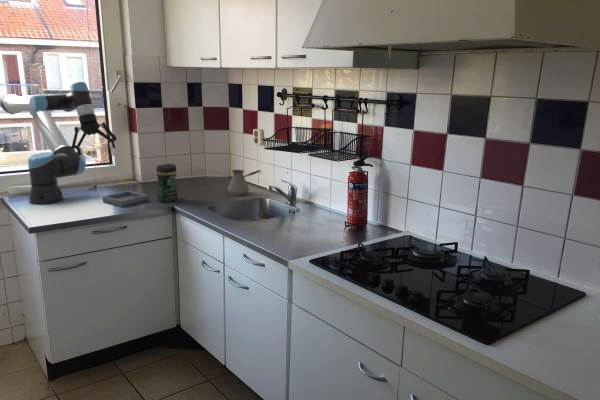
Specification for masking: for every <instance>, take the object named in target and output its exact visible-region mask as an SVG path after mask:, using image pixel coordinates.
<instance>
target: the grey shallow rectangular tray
mask: <svg viewBox="0 0 600 400" xmlns="http://www.w3.org/2000/svg"><path fill="white" fill-rule="evenodd" d="M148 201H149V197H148V195H147V194H143V193H140V192H135V191H131V190H126V191H122V192H117V193H112V194H108V195H103V196H102V203H105V204H107V205H110V206H114V207H115V206H116V207H118V208H125V207H128V206H134V205H137V204H141V203H146V202H148Z"/></svg>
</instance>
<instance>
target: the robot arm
mask: <svg viewBox="0 0 600 400" xmlns="http://www.w3.org/2000/svg"><path fill="white" fill-rule="evenodd" d="M69 89H70V90H69V92H68V93H56V94H55V93H53V94H52V93H51V94H48V93H47V94H46V93H45V94H36V95H24V96H18V95H16V94H8V93H6V94H7V95H6V94H4V95H5V96H4V95H2V97H1V98H2V99H1V98H0V101H1V104H0V107H1V109H2V108H3V109H2V110H3V111H4V112H5V111H6V112H5V113H7V114H9V113H10V114H9V115H13V114H15V113H19V112H21V111H30V114H31V115H32V116H33V118H34V121H33V122H34V124H35V125H36V127H37V129H38V131H39V132H40V134H41V136H42V138H43V139H44V140H45V142H46V144H47V146H48V147H49V149H50V151H51V152H49V151H47V152H40V153H35V154H33V155H30V156H29V157H28V161H27V162H28V165H27V166H28V172H29V179H30V191H29V194H28V202H29V203H30V204H32V205H49V204H54V203H58V202H62V201H63V200H64V195H63V192H62V190H61V188H60V185H59V184H58V179H59V178H65V177H72V176H74V177H75V176H77V175H82V174H83V173H84V172H85V170H86V166H87V165H86V164H87V163H86V157H85V154H84V152H83V149H82V147H81V145H82V143H83V141H84V140H85V138H86V136H87V135H88V136H91V135H96V134H98V135H100V137H102V138H103V139H105V140H106V141H108V142H109V143H108V144H109V148H110V152H111V155H112V157H115V156H116V154H115V148H116V145H115V142H116V141H117V139H118V137H117V136H116V135H115V134H114V133H113V132H112V130H110V129H109V128H108V126H107V124H106V122H101V123H99V122H98V119H97V116H96V113H95V109H94V106H93V102H92V99H91V98H92V97H91V94H90V90H89V87H88V84H87V83H86V82H84V81H77V82H76V81H75V82H73V83H70V85H69ZM75 110H76V113H77V116H78V121H79V124H80V126H79V127H78V126H75V127H74V135H73V139H72V144H71V145H69V144H68V142H67V140H66V138H65V137H64V135H63V134H62V132H61V130H60V129H59V127H58V125H57V124H56V122H55V120H54V118H53V116H52V115H51V114H50V113H49V111H51V112H53V111H63V112H67V113H69V112H73V111H75ZM100 127H101V128H102V129H103V130H104V131H105V132H106V133H107V134H108V135H107V134H106V133H104V132H103V131H102V130H101V129H100ZM80 131H81V132H82V133H83V134H82V135H81V137H80V139H79V141H78V143H77V139H78V134H79V133H80ZM76 143H77V145H76Z"/></svg>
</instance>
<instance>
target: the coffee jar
mask: <svg viewBox="0 0 600 400" xmlns="http://www.w3.org/2000/svg"><path fill="white" fill-rule="evenodd" d="M156 175H157V195H156V196H157V197H156V198H157V201H159V202H160V203H162V202H165V203H167V202H174V201H177V200H178V199H179V198H178V189H177V183H176V182H177V181H176V176H177V167H176V164H174V163H165V164H159V165H156Z"/></svg>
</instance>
